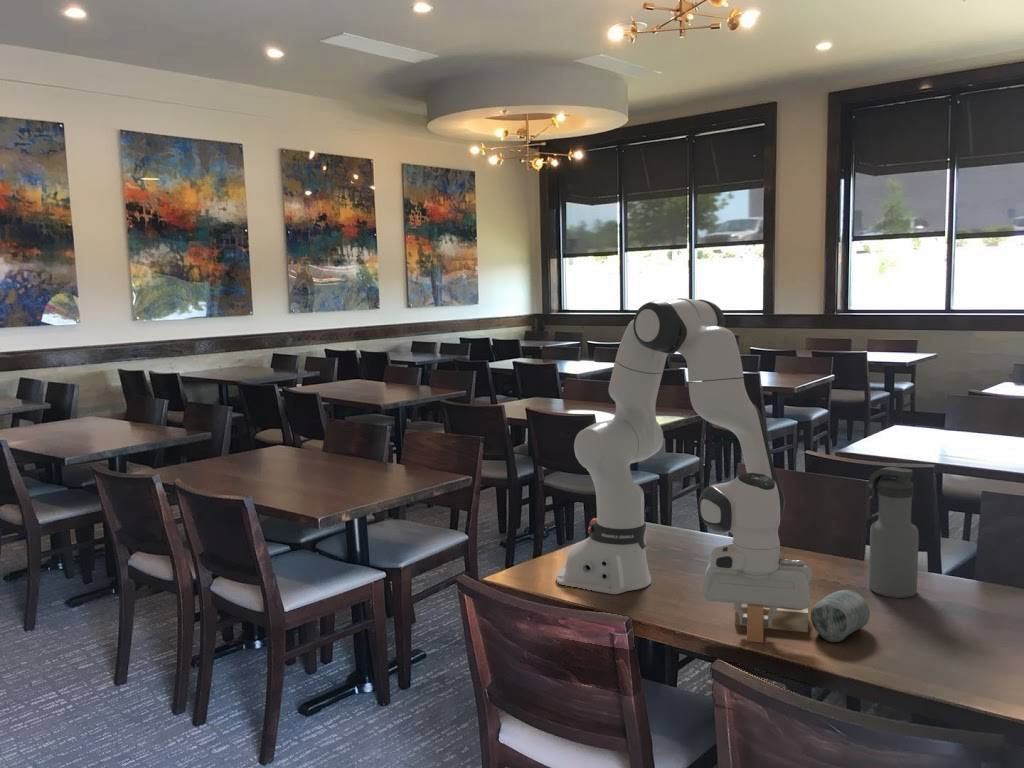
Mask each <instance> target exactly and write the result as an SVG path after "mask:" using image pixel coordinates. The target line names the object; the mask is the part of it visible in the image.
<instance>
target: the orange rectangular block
mask: <svg viewBox="0 0 1024 768" xmlns="http://www.w3.org/2000/svg"><path fill="white" fill-rule="evenodd" d="M746 641H747V642H752V643H753V642H755V643H756V642H757V643H764V628H763V606H761V605H750V604H747V626H746Z"/></svg>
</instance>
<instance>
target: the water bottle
mask: <svg viewBox="0 0 1024 768" xmlns="http://www.w3.org/2000/svg"><path fill="white" fill-rule="evenodd" d="M884 475H890V476H895V477H890V478H889V477H888V478H882V477H883V476H884ZM912 477H913V470H912V469H910V468H909V469H908V468H902V467H895V466H888V467H887V466H886V467H883V468H880V469H878V470H875V471H873V472H872V473H871V475H870V476H869V479H868V488H869V489H871V490H870V491H871V492H870V493H871V494H870V496H868V498H867V501H866V517H867V519H870V520H872V519H875V518H877V517H878V519H877V520H876V521H874V522H872V524H871V526H870V530H869V531H870V533H869V567H868V568H869V570H868V572H869V573H868V586H869V589H870V590H871V591H872V592H874V593H875V594H877V595H880V596H883V597H886V598H894V599H907V598H911V597H914V596H915V595H916V594H917V590H918V568H919V567H918V566H919V563H918V562H919V537H920V536H919V529H918V528H917V526H916V525H915V524H913V523H912V498H913V497H914V483H913V482H912V481H911V478H912ZM876 498H878V510H877V512H876V513H874V514H872V513H871V512H872V501H873V499H876Z"/></svg>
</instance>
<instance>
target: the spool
mask: <svg viewBox="0 0 1024 768" xmlns="http://www.w3.org/2000/svg"><path fill="white" fill-rule="evenodd" d="M870 614H871V613H870V608H869V605H868V604H867V602H866V600H865V599H864V598H863V596H861V595H860V594H859V593H858V592H856V591H853V590H850V589H842V590H837V591H835V592H832V593H830V594H827V595H826V596H824V597H823V598H822V599H820V600H819V601H818V602H817V603H815V604H814V605H813V607H812V608H811V610H810V621H811V623H812V626H813V628H814V629H815V630H816V632H817V633H818V635H820V637H821V638H823V640H825V641H827V642H830V643H837V642H838V643H839V642H841V641H843V640H845V638H847V637H848V636H849V635H851V634H852V633H854V632H857V631H858V630H860V629H862V628H863V627H865V626H866V625H867V624H868V622H869V620H870Z"/></svg>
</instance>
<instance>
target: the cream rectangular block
mask: <svg viewBox="0 0 1024 768" xmlns="http://www.w3.org/2000/svg"><path fill="white" fill-rule="evenodd" d="M808 608H809V607H808ZM808 608H807V609H795V608H784V607H777V613H776V614H775V616H774V617H773V618H772V619H771V627H763V629H771V630H780V631H782V630H783V631H790V632H791V631H793V632H799V633H800V632H802V633H809V609H808ZM734 610H735V609H734ZM741 610H742V612H743V613H744V614H747V604H742V607H741ZM734 612H735V613H734V616H735V617H734V618H735V619H734V625H735V626H740V627H747V625H740V616H739V615H738V614H737V612H736V610H735V611H734ZM769 613H770V606H763V615H764V616H768V614H769Z"/></svg>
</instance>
